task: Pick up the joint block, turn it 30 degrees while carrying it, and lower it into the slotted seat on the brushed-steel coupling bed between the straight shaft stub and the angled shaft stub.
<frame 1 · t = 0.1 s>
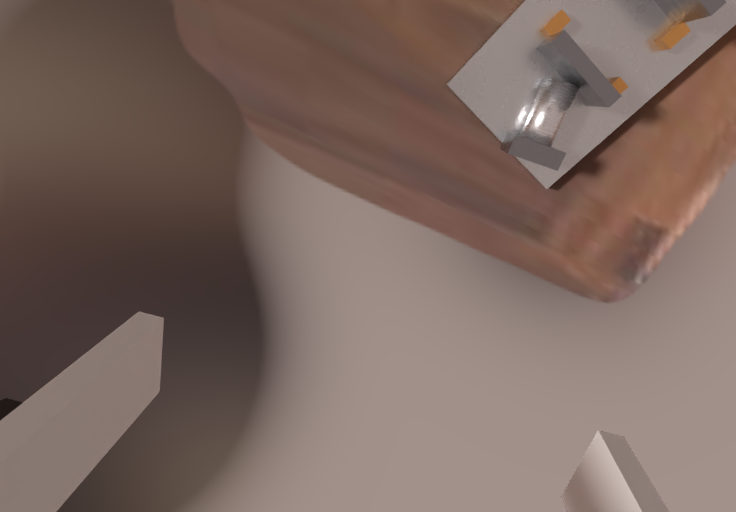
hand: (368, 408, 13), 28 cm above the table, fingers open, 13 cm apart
coupling bed: (603, 33, 33), on the table
shaft b: (536, 118, 35), resting on coupling bed
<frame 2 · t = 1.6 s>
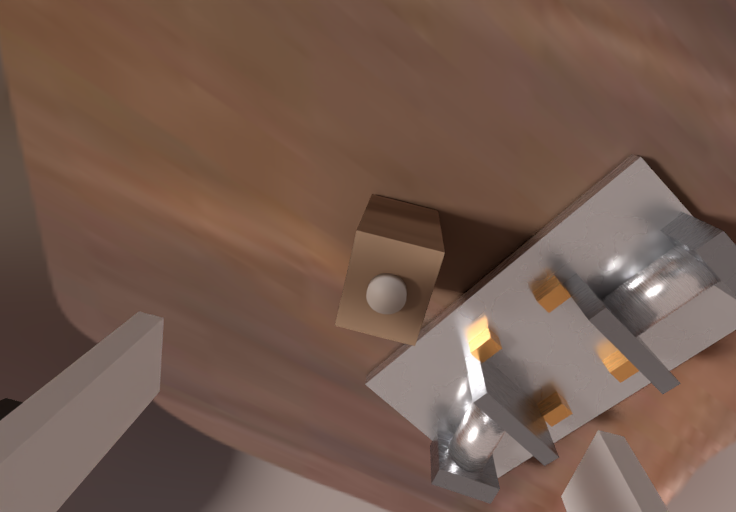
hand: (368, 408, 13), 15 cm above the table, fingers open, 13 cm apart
coupling bed: (545, 340, 28), on the table
joint block: (394, 241, 26), on the table
shaft b: (472, 412, 30), resting on coupling bed
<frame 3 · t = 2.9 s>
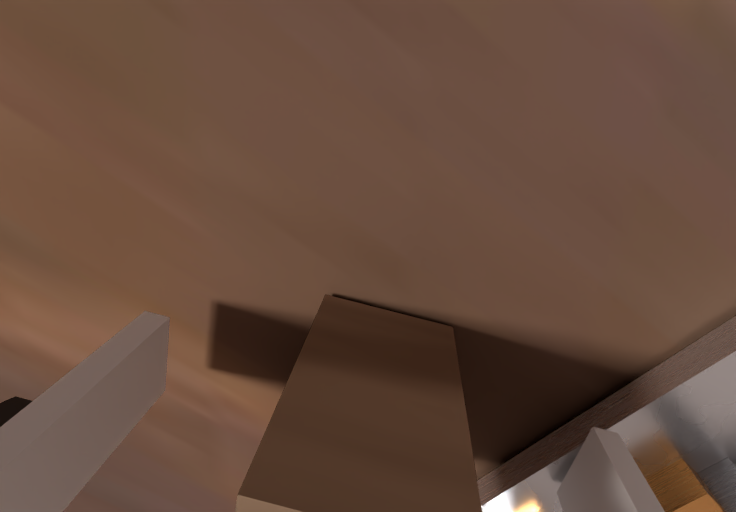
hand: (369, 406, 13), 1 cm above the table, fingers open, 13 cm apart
joint block: (370, 376, 14), on the table
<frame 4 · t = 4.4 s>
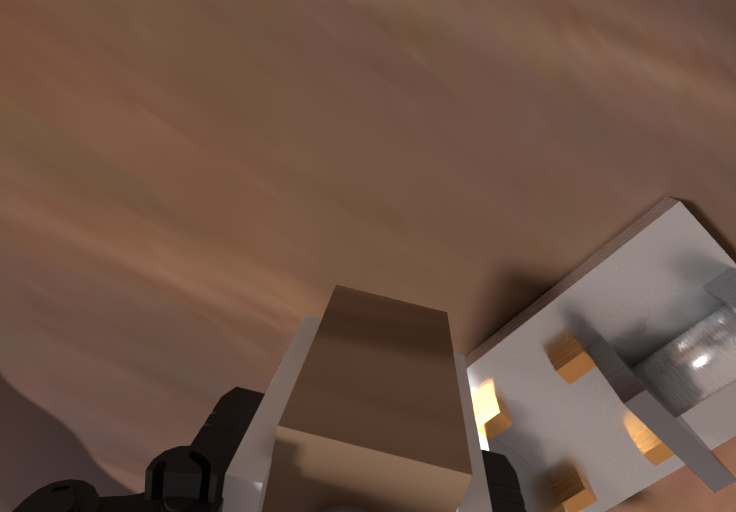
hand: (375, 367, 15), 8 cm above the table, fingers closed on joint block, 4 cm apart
coupling bed: (563, 409, 23), on the table
joint block: (375, 357, 16), point 6 cm above the table, touching gripper
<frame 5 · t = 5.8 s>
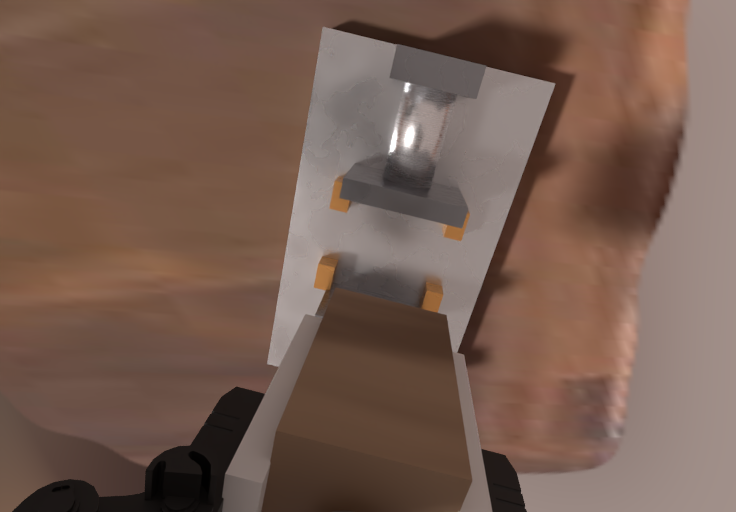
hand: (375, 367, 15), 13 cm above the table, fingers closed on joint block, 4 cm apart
coupling bed: (389, 240, 26), on the table
joint block: (374, 360, 16), point 12 cm above the table, touching gripper
when the fingers open (2 cm above the table, at t = 7.5 s): joint block stays where it is, resting on coupling bed.
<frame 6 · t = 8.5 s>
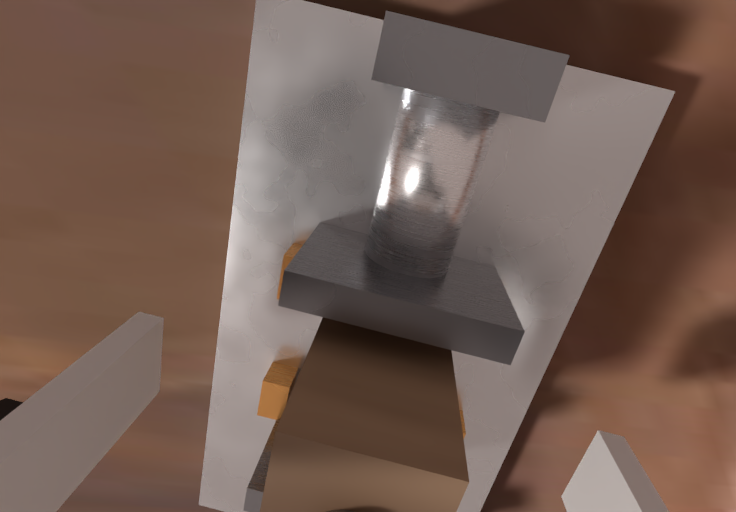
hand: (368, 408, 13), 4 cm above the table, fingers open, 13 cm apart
coupling bed: (379, 335, 17), on the table
joint block: (374, 358, 16), point 1 cm above the table, touching coupling bed
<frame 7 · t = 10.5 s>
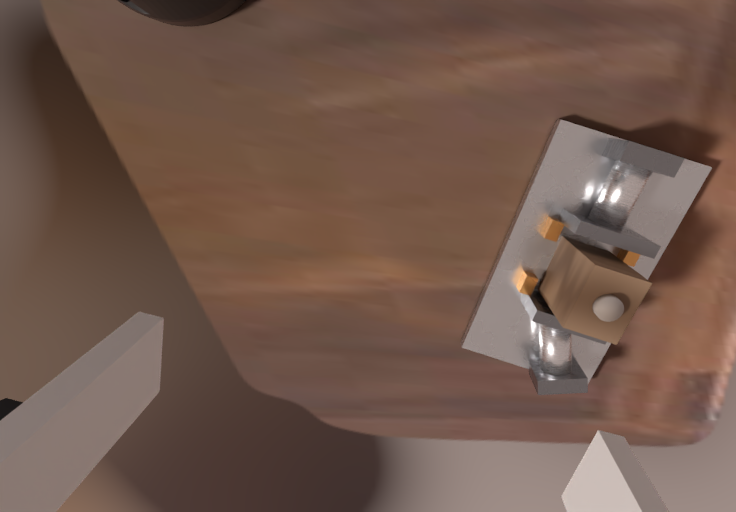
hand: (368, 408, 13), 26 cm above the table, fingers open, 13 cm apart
coupling bed: (570, 262, 37), on the table
joint block: (572, 270, 36), point 1 cm above the table, touching coupling bed
shaft b: (547, 336, 40), resting on coupling bed
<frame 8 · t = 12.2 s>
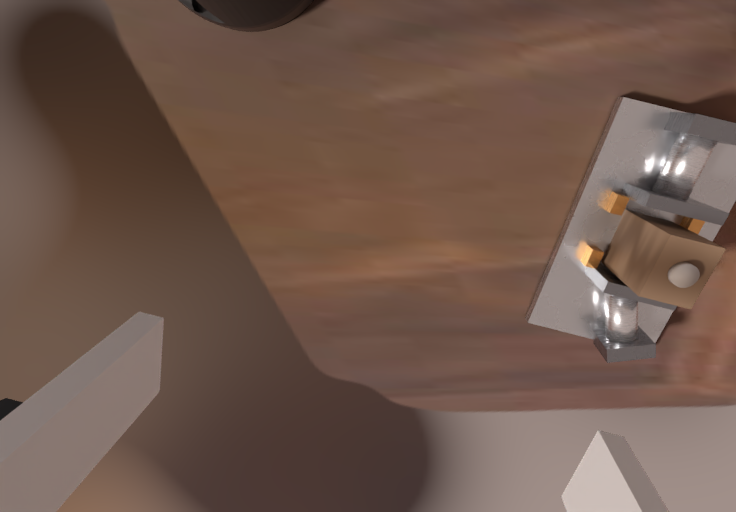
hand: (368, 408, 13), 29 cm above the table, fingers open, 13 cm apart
coupling bed: (632, 234, 39), on the table
joint block: (635, 242, 38), point 1 cm above the table, touching coupling bed
shaft b: (610, 307, 41), resting on coupling bed
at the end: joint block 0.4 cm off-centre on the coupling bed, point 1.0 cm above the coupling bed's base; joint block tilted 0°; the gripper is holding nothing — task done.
